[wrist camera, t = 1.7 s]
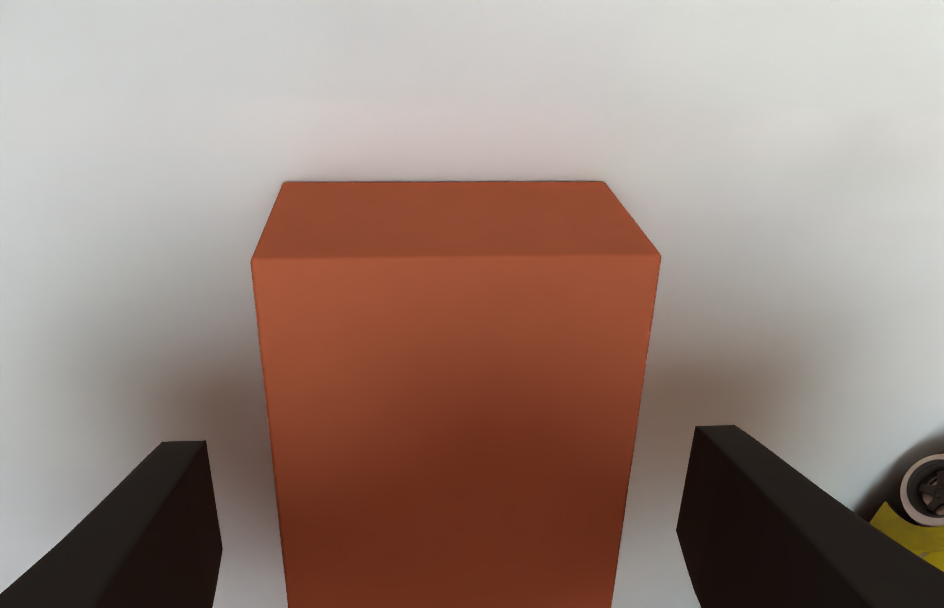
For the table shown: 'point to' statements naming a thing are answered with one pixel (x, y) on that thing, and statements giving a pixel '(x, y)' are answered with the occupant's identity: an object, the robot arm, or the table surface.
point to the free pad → (452, 389)
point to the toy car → (919, 512)
